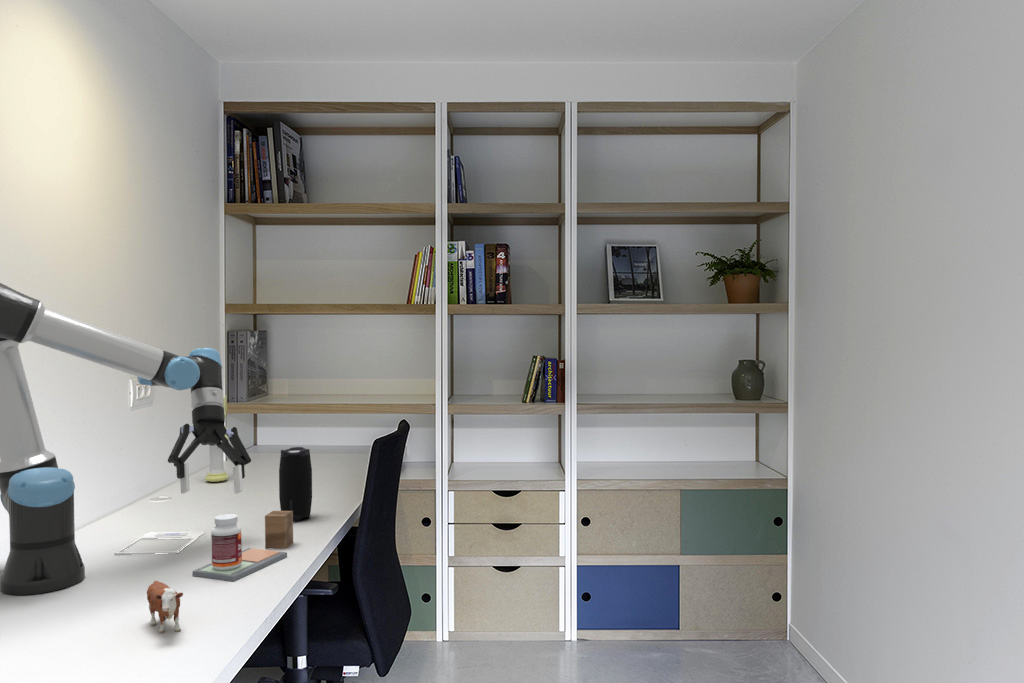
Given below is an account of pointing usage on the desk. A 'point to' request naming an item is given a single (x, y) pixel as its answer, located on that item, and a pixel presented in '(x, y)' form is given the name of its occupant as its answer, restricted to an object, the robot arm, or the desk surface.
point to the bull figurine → (163, 604)
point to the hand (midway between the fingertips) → (212, 492)
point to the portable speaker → (295, 482)
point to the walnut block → (279, 529)
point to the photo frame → (155, 536)
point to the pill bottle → (226, 543)
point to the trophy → (217, 458)
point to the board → (243, 565)
